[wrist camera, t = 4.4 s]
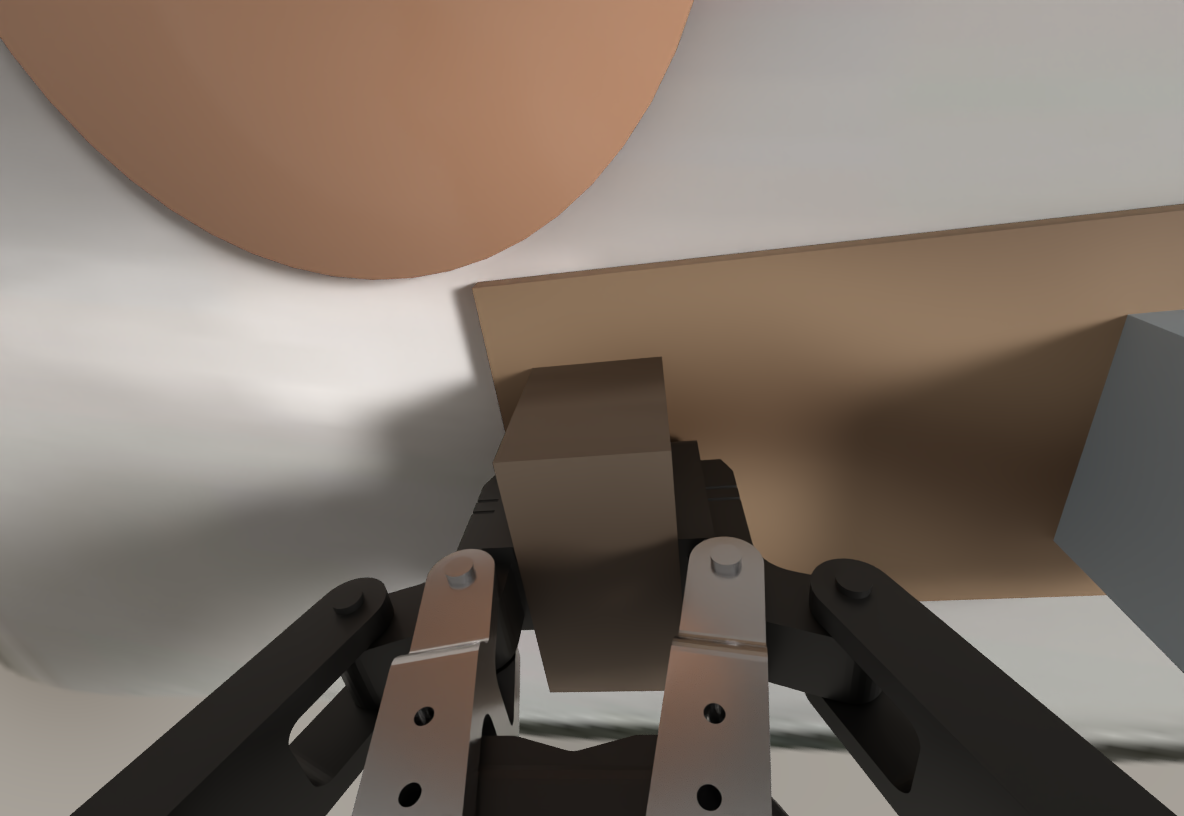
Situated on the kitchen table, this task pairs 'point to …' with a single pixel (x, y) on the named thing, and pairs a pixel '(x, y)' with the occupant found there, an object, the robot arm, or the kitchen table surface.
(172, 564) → the kitchen table surface
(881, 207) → the kitchen table surface
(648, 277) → the walnut strip
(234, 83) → the terracotta saucer
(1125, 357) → the slate cube
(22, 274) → the kitchen table surface
